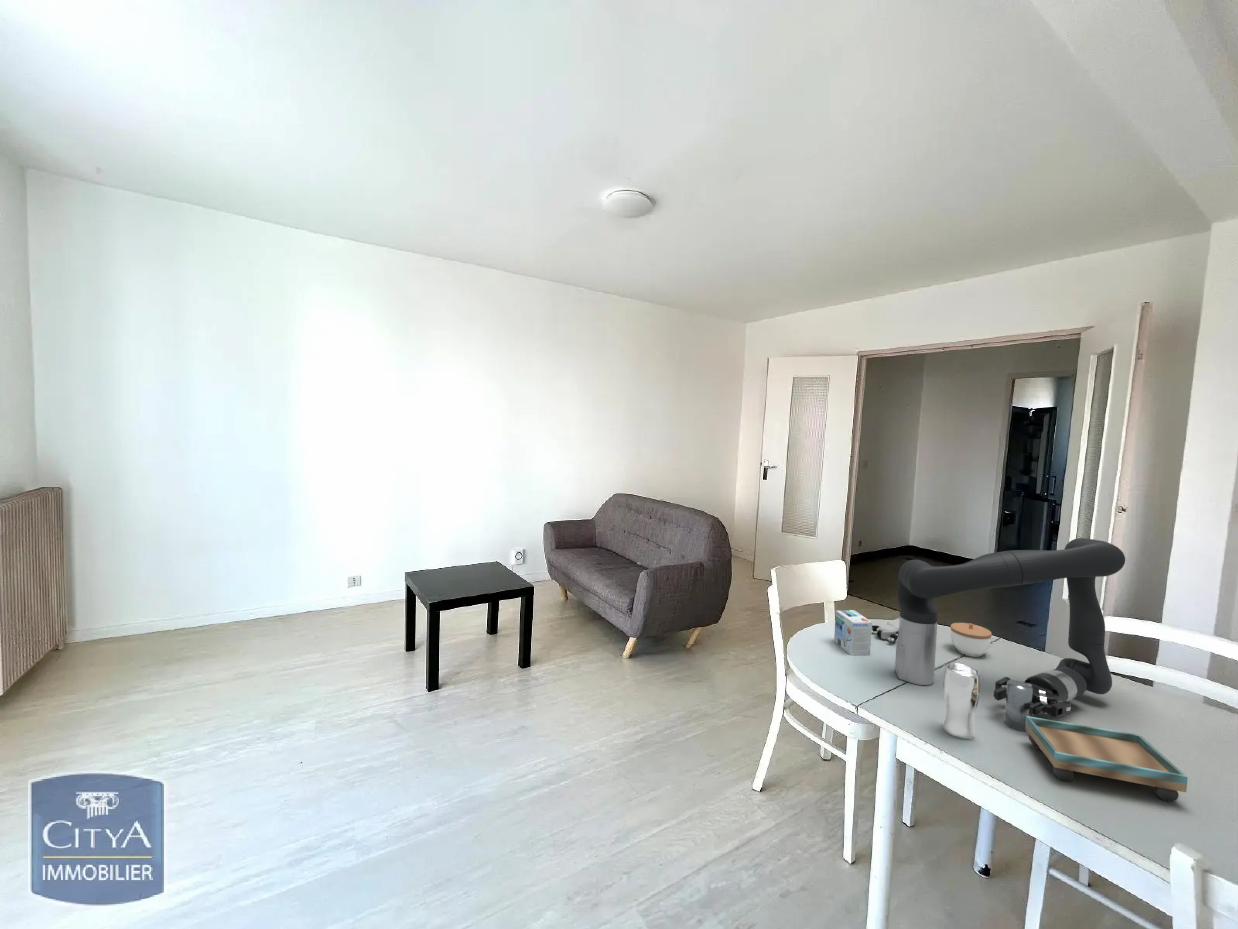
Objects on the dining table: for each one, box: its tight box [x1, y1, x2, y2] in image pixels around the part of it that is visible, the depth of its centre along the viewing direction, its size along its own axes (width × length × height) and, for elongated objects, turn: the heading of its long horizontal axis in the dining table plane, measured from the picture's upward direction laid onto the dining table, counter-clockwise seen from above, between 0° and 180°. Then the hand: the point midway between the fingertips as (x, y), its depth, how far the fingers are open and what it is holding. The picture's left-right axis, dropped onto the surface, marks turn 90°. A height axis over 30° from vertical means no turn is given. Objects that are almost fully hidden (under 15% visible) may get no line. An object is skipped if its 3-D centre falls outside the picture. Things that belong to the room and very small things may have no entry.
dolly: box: [1025, 716, 1188, 803], centre depth 104 cm, size 20×14×6 cm
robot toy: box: [871, 617, 900, 643], centre depth 172 cm, size 12×4×15 cm
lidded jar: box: [949, 622, 993, 658], centre depth 160 cm, size 11×11×9 cm
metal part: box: [1003, 679, 1033, 732], centre depth 120 cm, size 5×5×10 cm
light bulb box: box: [833, 609, 873, 656], centre depth 162 cm, size 11×7×11 cm, turn 5°
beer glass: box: [942, 662, 981, 740], centre depth 117 cm, size 7×7×15 cm
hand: (1013, 703), depth 119 cm, fingers open, 6 cm apart
